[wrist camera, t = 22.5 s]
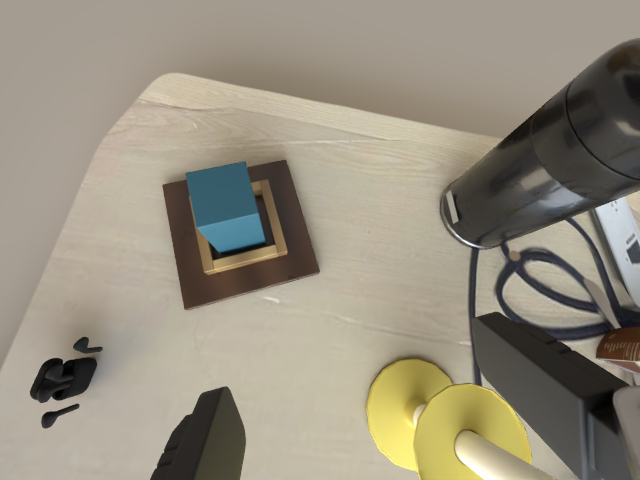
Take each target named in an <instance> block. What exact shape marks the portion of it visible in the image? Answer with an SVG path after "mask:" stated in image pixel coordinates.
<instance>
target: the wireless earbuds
mask: <svg viewBox="0 0 640 480" xmlns="http://www.w3.org/2000/svg"><path fill="white" fill-rule="evenodd" d="M88 343H89V338H87V337H83V338H81V339H79V340H78V341H77V342H76V343H75V344H74V346H73V348H74V349H75V350H77V351H80V352H83V353H94V352H101V351H102V350H103V348H102V347H93V348H87V346H88ZM96 366H97V363H96V360H95V359H93V358H91V357H87V358H80V359H74V360H69V361H67V362H65V363H64V364H63V360H62V359H59V358H53V359H49V360H47V361H46V362H45V363H43V365H42V366H41V368H40V370H39V372H38V375H37V377H36V379H35V381H34V383H33V385H32V388H31V390H30V395H31V397H32V398H33V399H35V400H38V401H39V402H40V403H44V402H47V401H48V400H49V399H50V397H51V396H52V398H53V399H55V400H63V399H66V398H69V397H73V396H76V395H79V394H81V393H83V392H84V391H85V390H86V389H87V388H88V386H89V383H90V381H91V378H92V376H93V374H94V371H95V369H96ZM79 406H80V405H79V404H75V405H72V406H69V407H67V408H64V409H61V410H58V411H54V412H52V411H50V412H46V413H45V414H44V415H43V416H42V420H41V423H42V427H43V428H49V427H51V426H52V425H53V423H54V422H55V420H56V419H57V417H58V416H60V415H63V414H65V413H68V412H70V411H73V410H75V409H78V408H79Z"/></svg>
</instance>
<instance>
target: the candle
mask: <svg viewBox="0 0 640 480" xmlns="http://www.w3.org/2000/svg"><path fill="white" fill-rule="evenodd" d="M366 410H367V418H368V426H369V431H370V433H371V435H372V437H373V439H374V441H375V443H376V445H377V447H378V449H379V450H380V451H381V452H382V453H383V454H384V455H385V456H386V457H388V458H389V459H390V460H391V461H392V462H393V463H394V464H395V465H398V466H401V467H404V468H407V469H411V470H414V471H417V474H418V476H419V478H420V480H557V479H555V478H553V477H552V476H550V475H548V474H546V473H545V472H543V471H541V470H539V469H538V468H536V467H534V466H532V465H531V460H532V454H531V450H530V446H529V442H528V438H527V434H526V430H525V427H524V426H523V424H522V423H521V421H520V419H519V418H518V416H517V414H516V413H515V411H514V409H513V408H512V406H511V405H510V404H508V403H507V402H506V401H505V400H504V399H502V398H501V397H500V396H499V395H498V394H496V393H495V392H494V391H493V390H490V389H487V388H484V387H481V386H478V385H474V384H471V383H464V384H457V385H453V384H452V382H451V380H450V378H449V377H448V376H447V375H446V374H445V373H443V372H442V371H441V370H440V369H439V368H437V367H436V366H435V365H434V364H431V363H428V362H425V361H422V360H419V359H416V358H414V359H406V360H397V361H396V362H394V363H393V364H391V365H389V366H388V367H386V368H385V369H383V370H382V371H381V372H380V374H379V375H378V377H377V378H376V380H375V381H374V383H373V384H372V386H371V388H370V392H369V397H368V401H367V406H366Z"/></svg>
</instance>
